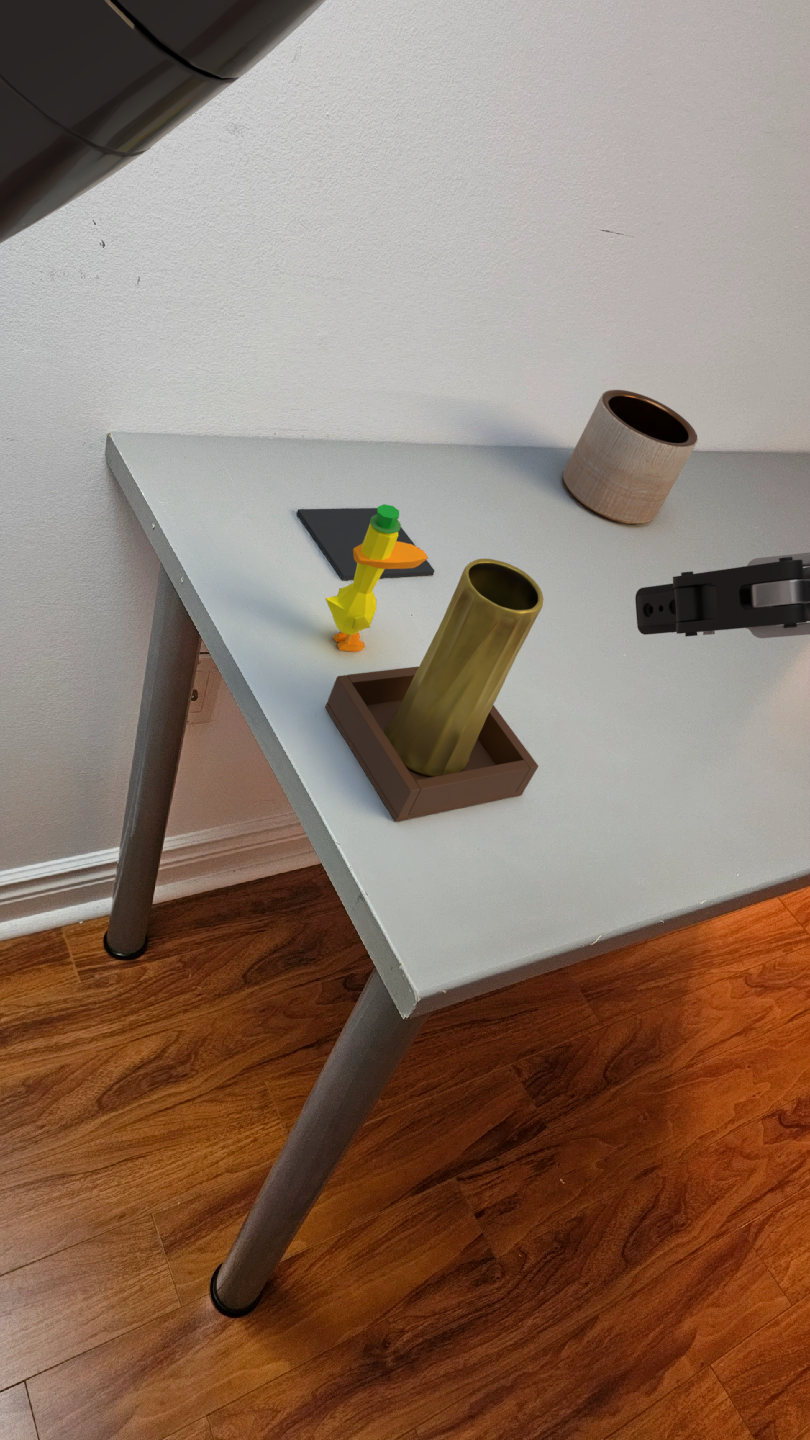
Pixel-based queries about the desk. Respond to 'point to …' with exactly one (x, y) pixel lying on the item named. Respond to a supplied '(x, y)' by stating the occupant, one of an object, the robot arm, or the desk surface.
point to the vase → (464, 667)
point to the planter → (629, 457)
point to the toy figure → (370, 576)
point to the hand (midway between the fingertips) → (703, 607)
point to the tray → (407, 794)
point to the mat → (350, 539)
